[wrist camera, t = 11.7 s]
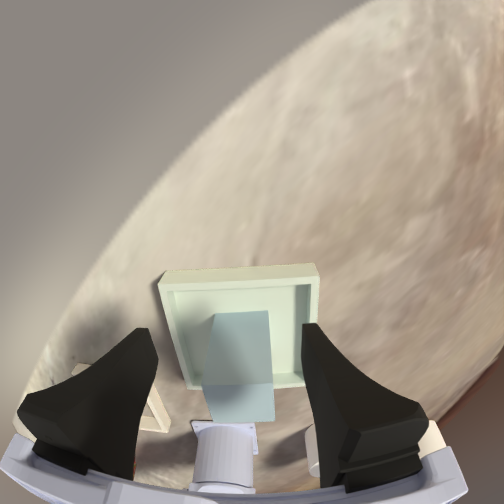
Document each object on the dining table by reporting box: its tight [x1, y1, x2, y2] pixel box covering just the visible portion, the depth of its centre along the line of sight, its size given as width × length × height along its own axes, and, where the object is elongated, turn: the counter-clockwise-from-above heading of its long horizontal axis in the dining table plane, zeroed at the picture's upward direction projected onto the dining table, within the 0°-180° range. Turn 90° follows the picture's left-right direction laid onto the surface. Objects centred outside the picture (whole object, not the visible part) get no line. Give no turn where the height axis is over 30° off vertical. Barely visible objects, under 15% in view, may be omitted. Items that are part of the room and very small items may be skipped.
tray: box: [158, 263, 320, 390], centre depth 24 cm, size 12×12×2 cm
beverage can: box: [418, 420, 446, 459], centre depth 29 cm, size 8×8×12 cm
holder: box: [71, 363, 171, 433], centre depth 29 cm, size 10×10×2 cm
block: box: [201, 310, 275, 423], centre depth 20 cm, size 4×4×8 cm
